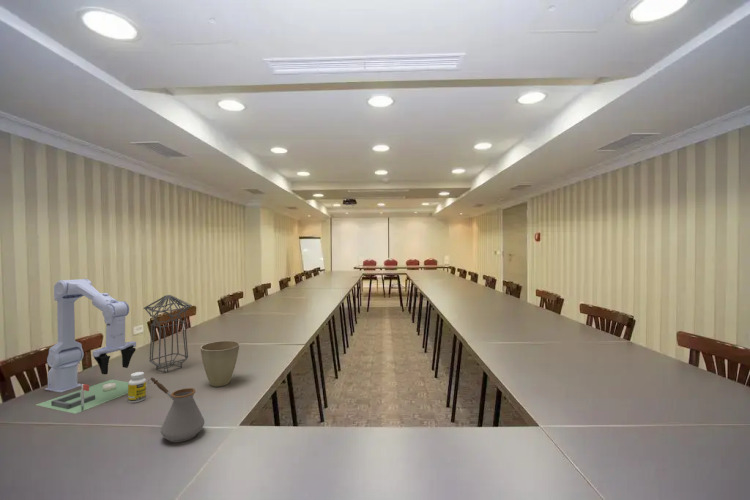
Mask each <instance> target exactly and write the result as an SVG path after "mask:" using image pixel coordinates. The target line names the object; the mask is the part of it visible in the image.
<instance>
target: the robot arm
mask: <svg viewBox="0 0 750 500" xmlns="http://www.w3.org/2000/svg"><path fill="white" fill-rule="evenodd" d="M53 297H54V298H53V299H54V301H56V304H57V305H56V306H57V307H56V309H57V310H56V311H57V313H56V316H57V318H56V319H57V343H55V344H53V345H52V346H50V348H49V349H48V355H47V359H46V362H47V365H48V366H49V367H50V369H49V370H48V372H47V387H46V388H45V389H44V390H45V391H51V392H55V393H63V392H66V391H70V390H73V389H75V388H80V387H81V384H82V383H79V382H78V372H79V371H78V365H79V364H81V363H80V362H81V361H82V360H83V358H84V355H85V354H84V350H83V347H82V346H83V345H82V343H81V342H79V341H76V335H75V333H76V331H75V330H76V329H75V327H76V326H75V325H76V324H75V323H76V322H75V321H76V320H75V319H76V318H75V317H76V316H75V302H76V301H77V300H79V299H80V298H82V297H85V298H88V299H89V300H91V304H92V305H93V306H94V307H95V308H97V309H98V310H100V311H101V312H102V316H103V319H104V320H103V321H104V323H105V324H106V326H105V327H106V328H105V329H106V330H105V331H106V332H105V347H104V346H103V347H102V348H98V349H96V350H93V351H92V357H93V359H94V360H95V361H96V362H97V364H98V367H99V368H100V372H101V373H100V374H101V375H108V372H109V363H110V359H111V355H108V354H110V353H114V352H118V351H120V353H121V359H122V361H121V363H122V368H126V369H128V368H129V365H130V362H131V360H132V357H133V355H134V353H135V352H136V349H137V348H136V347H137V341H134V340H133V341H128V342H126V317H127V316H128V315H129V314H130V306H129V304H128V303H127V302H126V301H118V300H117V299H116V298H114V297H112V296H111V295H110V293H107V292H100V291H98V289H96V288H95V287H94V286H93V283H92V281H91V280H90V279H88V278H81V279H80V278H79V279H65V280H63V279H60V280H58V281H57V282H56V283H55V284H54V285H53Z"/></svg>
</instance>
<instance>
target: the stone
mask: <svg viewBox="0 0 750 500" xmlns="http://www.w3.org/2000/svg"><path fill="white" fill-rule="evenodd" d="M115 389H116V383H107V384H104V385H103V391H104V392H108V391H112V390H115Z"/></svg>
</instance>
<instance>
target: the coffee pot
mask: <svg viewBox="0 0 750 500" xmlns="http://www.w3.org/2000/svg"><path fill="white" fill-rule="evenodd" d="M150 380H151V382H150ZM147 383H148V384H154V385H156V387H157V388H158V389H159V390H161V391H162V392H163V393H164V394H166V395H167V396H168V397H169V398H170V399H171V400H172V403H171V406H170V408H169V411H168V413H167V415H166V417H165V419H164V421H163V423H162V426H161V428H160V434H161V436H162V437H163V438H164V439H166V441H167V440H168V441H169V442H170V443H181V442H186V441H189V440H192V439H193V438H194V437H196V436H197V434H199V432H201V431H202V429H203V427H204V426H205V419H204V417H203V415H202V412H201V411H200V409H199V407H198V405H197V403H196V400H195V399H194V394H195V393H196V389H195V388H194V387H191V388H190V387H189V388H188V387H186V388H182V389H177V390H175V391H173V392H172V393H171V392H170V391H169V390H168V388H166V386H164V385H163V384H162V383H161V382H160V381H159V380H158V379H156V378H155V377H150V378H149V379H148V380H147Z"/></svg>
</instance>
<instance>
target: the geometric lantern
mask: <svg viewBox="0 0 750 500" xmlns="http://www.w3.org/2000/svg"><path fill="white" fill-rule="evenodd" d="M154 304H155V305H154ZM152 305H154V306H152ZM173 305H174V307H175V308H174V309H172V306H173ZM192 306H193V305H192V304H191V303H188V302H187V301H184V300H182V299H180V298H177V297H176V296H174V295H171V294H167V295H163V296H162V297H160V298H158V299H157V300H155V301H153V302H151V303H149V304H148V305H146V306H145V307H143V309H144V310H145V311H146V312H147V314H148V315H149V317H152V318H153V319H152V323H151V324H150V341H149V342H150V343H149V344H150V345H149V347H150V348H149V362H150V363H151V364H153V365H154V366H155V370H156V371H158V372H162V373H169V372H172V371H173V372H174V371H175V370H179V369H182V368H183V363H184V362H185V361H187V360H188V358H189V353H188V352H189V351H188V337H187V326H186V325H187V324H186V320H182V317H181V316H180V315H181V314H182V313H184V317H183V318H186V312H187V310H189V309H190V308H191V307H192ZM156 309H158V310H156ZM161 309H162V310H161ZM174 311H176V312H177V313H176V314H173V312H174ZM179 311H180V312H179ZM154 312H155V313H154ZM169 312H170V313H169ZM159 313H164V314H166V315H168V316H169V319H168V320H164V321H163V320H162V321H158V319H157V318H158V316H159ZM173 317H176V318H175V319H174V318H173ZM178 318H179V319H178ZM170 321H171V324H168V323H169V322H170ZM164 322H166V323H165V324H164V325H163V326H161V323H164ZM174 322H175V323H174ZM178 322H179V323H178ZM156 324H157V325H156ZM167 324H168V325H167ZM178 325H181V329H182V338H183V348H184V354H181V353H180V352H179V335H178V334H179V333H178ZM174 326H175V331H176V332H175V333H176V334H175V335H176V349H177V353H176V352H175V353H173V352H174V348H173V347H174ZM156 327H158V328H159V339H158V342H159V343H158V356H157V357H155V358H154V350H155V349H154V347H155V333H156V331H155V330H156ZM167 327H171V350H170V351H171V353H169V354H167V349H166V348H167V346H166V344H167V343H166V328H167ZM162 328H163V343H164V345H163V347H164V355H162V356H161V341H162V338H161V337H162ZM174 355H175V357H174V358H173V356H174ZM168 356H170V360H167V357H168ZM178 356H182V357H184V359H180V360H176V358H177V357H178ZM162 358H164V361H165V362H162V363H161V359H162ZM155 360H158V363H157V362H155ZM176 363H178V364H176ZM172 367H173V368H174V367H177V368H174V369H170V370H169V368H172ZM161 369H164V370H161Z"/></svg>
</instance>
